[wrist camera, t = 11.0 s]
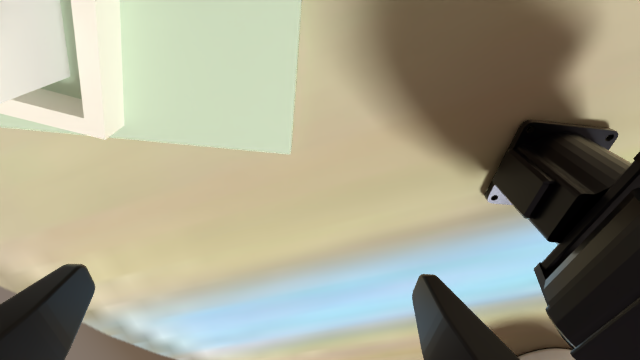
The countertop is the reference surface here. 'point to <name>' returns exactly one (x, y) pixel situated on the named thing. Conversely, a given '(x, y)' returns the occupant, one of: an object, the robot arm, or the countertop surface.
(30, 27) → the plug
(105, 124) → the white square frame
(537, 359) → the mug
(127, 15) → the board
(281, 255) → the countertop surface
